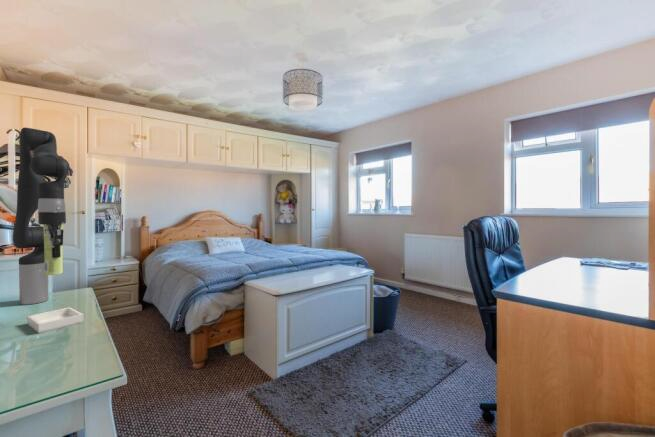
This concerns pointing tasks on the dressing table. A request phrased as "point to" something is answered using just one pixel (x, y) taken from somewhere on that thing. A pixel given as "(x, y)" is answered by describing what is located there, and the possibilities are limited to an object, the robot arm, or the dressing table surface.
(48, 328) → the tray
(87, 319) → the dressing table surface
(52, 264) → the tube
